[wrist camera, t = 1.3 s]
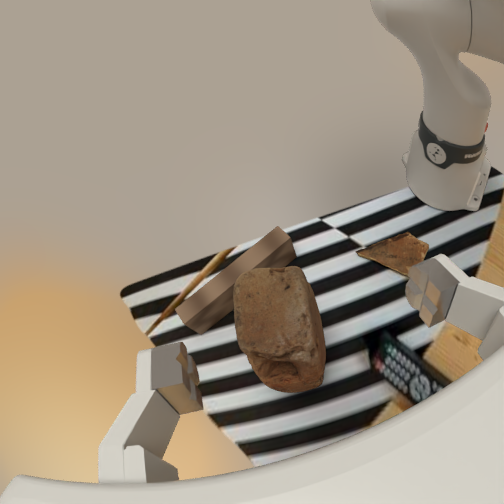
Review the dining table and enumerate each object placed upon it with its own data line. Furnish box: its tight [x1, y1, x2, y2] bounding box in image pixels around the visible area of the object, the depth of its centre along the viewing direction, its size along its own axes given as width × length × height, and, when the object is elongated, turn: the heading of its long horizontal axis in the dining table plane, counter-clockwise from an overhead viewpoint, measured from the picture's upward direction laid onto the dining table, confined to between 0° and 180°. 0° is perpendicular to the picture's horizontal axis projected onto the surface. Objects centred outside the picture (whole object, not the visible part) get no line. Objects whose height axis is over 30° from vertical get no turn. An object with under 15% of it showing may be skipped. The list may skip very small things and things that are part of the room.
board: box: [175, 226, 296, 335], centre depth 46 cm, size 20×3×6 cm, turn 127°
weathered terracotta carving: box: [233, 266, 326, 393], centre depth 32 cm, size 11×8×20 cm
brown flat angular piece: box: [356, 232, 429, 277], centre depth 44 cm, size 11×8×2 cm
